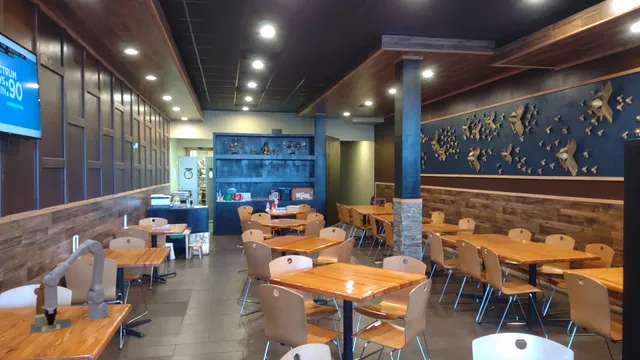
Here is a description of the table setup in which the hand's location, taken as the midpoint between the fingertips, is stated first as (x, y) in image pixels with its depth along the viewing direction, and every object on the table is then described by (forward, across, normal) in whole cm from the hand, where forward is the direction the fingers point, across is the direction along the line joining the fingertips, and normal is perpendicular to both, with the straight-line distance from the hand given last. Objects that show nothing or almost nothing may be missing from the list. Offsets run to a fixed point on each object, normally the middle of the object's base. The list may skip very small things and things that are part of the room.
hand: (51, 323), depth 217 cm
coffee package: (+3, -26, -2) cm, 26 cm away
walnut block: (+2, 0, 0) cm, 2 cm away
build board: (+3, -4, 0) cm, 4 cm away
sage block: (+2, -7, -5) cm, 9 cm away
